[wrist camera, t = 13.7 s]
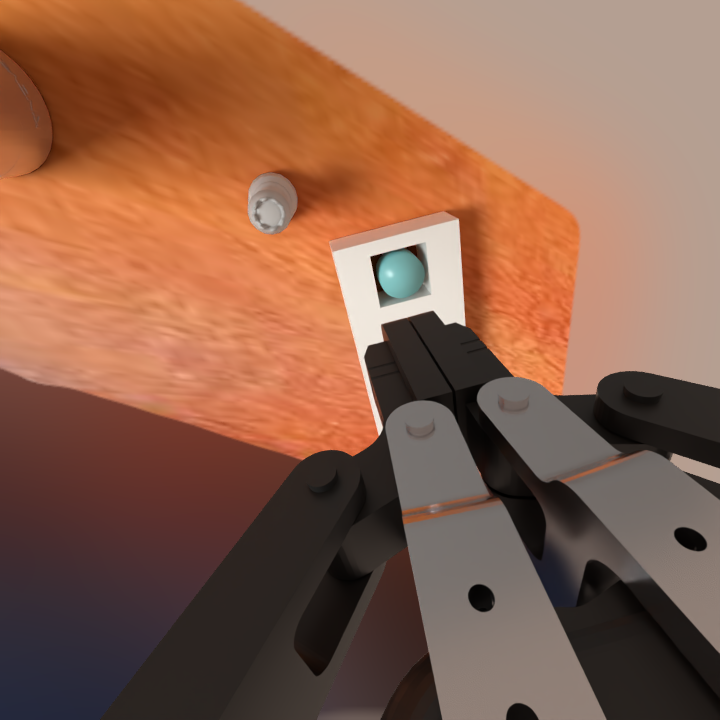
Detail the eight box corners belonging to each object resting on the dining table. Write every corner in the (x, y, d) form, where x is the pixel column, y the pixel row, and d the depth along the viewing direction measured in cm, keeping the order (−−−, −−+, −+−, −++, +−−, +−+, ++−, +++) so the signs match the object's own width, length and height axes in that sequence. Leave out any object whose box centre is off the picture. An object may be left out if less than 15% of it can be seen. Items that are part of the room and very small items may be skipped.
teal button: (379, 293, 39) (384, 303, 37) (371, 253, 37) (376, 260, 35) (419, 283, 39) (427, 292, 37) (414, 242, 37) (421, 249, 35)
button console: (376, 426, 51) (382, 447, 48) (328, 241, 37) (332, 251, 34) (459, 404, 51) (471, 423, 48) (443, 211, 37) (458, 218, 34)
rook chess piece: (295, 171, 34) (296, 181, 27) (299, 222, 36) (301, 244, 29) (244, 172, 33) (232, 182, 26) (252, 224, 35) (243, 246, 29)
